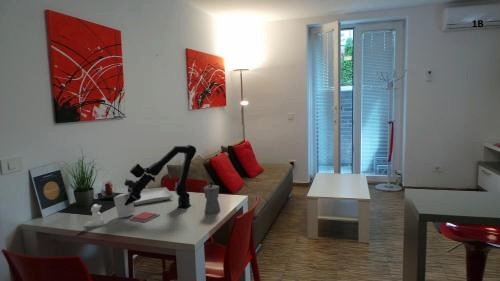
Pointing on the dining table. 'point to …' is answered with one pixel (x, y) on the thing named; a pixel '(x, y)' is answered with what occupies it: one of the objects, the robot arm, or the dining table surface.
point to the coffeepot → (212, 199)
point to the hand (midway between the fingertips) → (124, 202)
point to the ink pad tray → (144, 217)
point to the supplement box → (121, 208)
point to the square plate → (153, 195)
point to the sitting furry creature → (95, 217)
